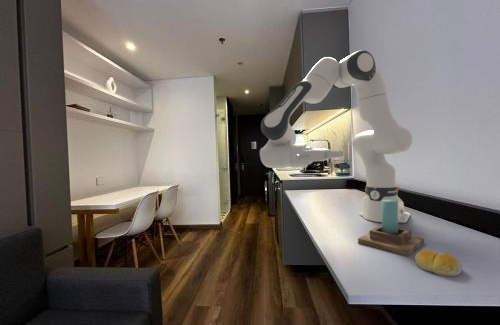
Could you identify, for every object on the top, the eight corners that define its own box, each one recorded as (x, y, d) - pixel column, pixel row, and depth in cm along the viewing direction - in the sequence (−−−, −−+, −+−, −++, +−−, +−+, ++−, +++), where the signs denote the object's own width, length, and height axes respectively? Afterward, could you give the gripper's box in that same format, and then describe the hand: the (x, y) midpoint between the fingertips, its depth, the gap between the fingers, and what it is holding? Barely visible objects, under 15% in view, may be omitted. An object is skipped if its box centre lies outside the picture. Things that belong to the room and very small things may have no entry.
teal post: (384, 234, 78) (383, 199, 78) (399, 237, 75) (398, 200, 75) (380, 238, 75) (379, 201, 74) (396, 241, 72) (396, 202, 72)
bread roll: (423, 258, 64) (423, 243, 64) (466, 270, 57) (465, 254, 57) (408, 266, 60) (408, 250, 60) (452, 281, 52) (452, 263, 52)
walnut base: (377, 232, 85) (376, 221, 85) (423, 243, 74) (423, 230, 74) (358, 242, 76) (357, 230, 76) (407, 256, 65) (407, 241, 65)
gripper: (293, 146, 77) (338, 144, 71) (307, 147, 96) (343, 145, 90) (294, 166, 77) (339, 164, 71) (308, 162, 96) (344, 161, 90)
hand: (341, 153), depth 81 cm, fingers open, 8 cm apart
